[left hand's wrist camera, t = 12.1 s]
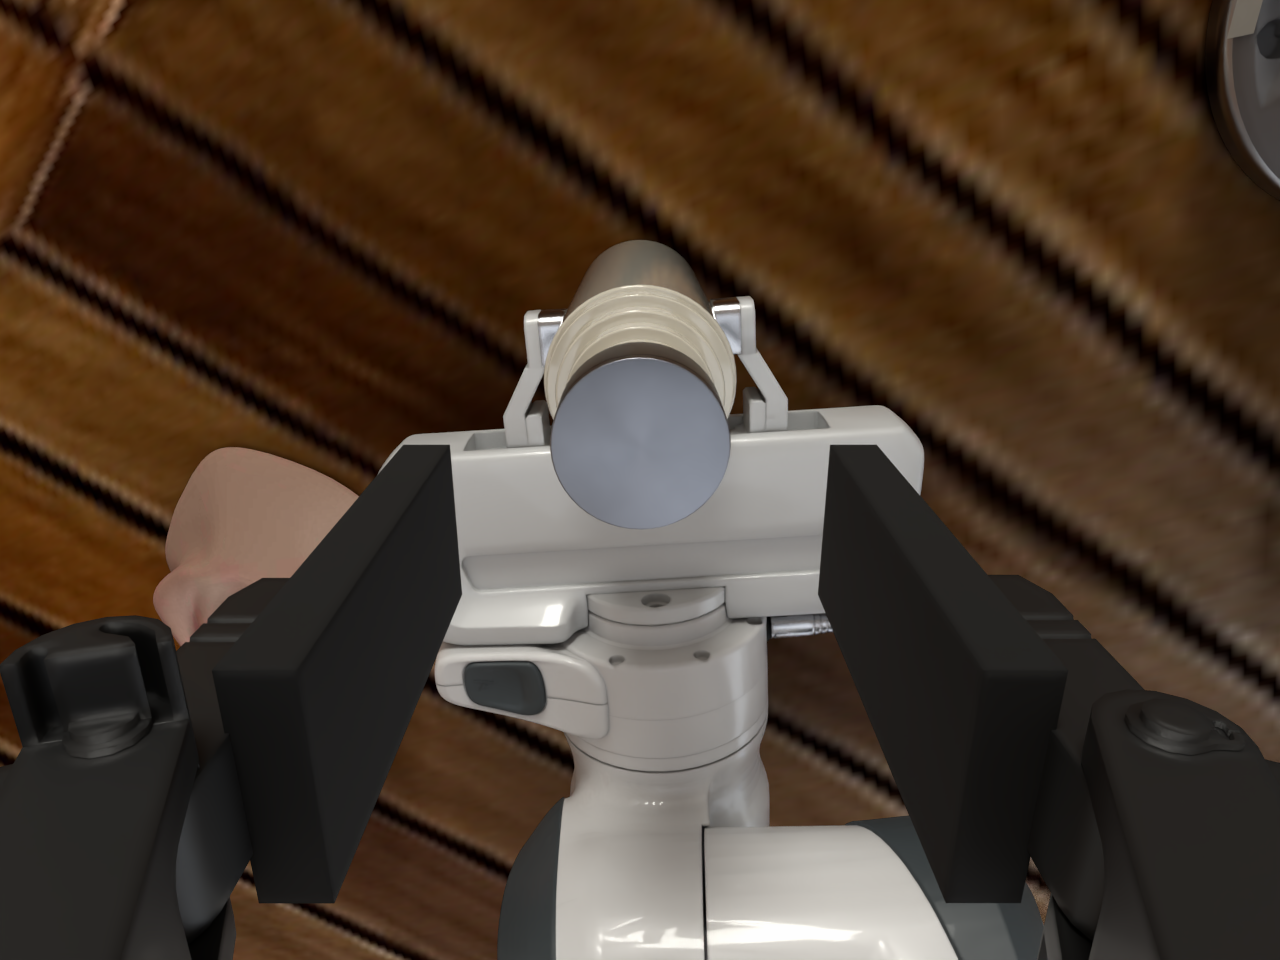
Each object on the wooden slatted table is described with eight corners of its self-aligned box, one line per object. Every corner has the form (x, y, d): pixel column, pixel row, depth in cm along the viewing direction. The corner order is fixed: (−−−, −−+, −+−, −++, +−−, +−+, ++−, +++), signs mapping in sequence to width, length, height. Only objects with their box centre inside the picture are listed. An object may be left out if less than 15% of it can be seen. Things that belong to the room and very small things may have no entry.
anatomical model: (106, 466, 35) (388, 496, 35) (158, 437, 38) (412, 464, 39) (135, 735, 39) (384, 758, 40) (179, 685, 43) (406, 707, 44)
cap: (756, 436, 20) (767, 460, 18) (627, 531, 20) (626, 562, 19) (654, 305, 19) (655, 319, 17) (522, 410, 19) (512, 433, 18)
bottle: (725, 312, 37) (811, 460, 18) (630, 386, 38) (621, 594, 20) (650, 213, 35) (661, 265, 17) (553, 293, 36) (466, 422, 18)
